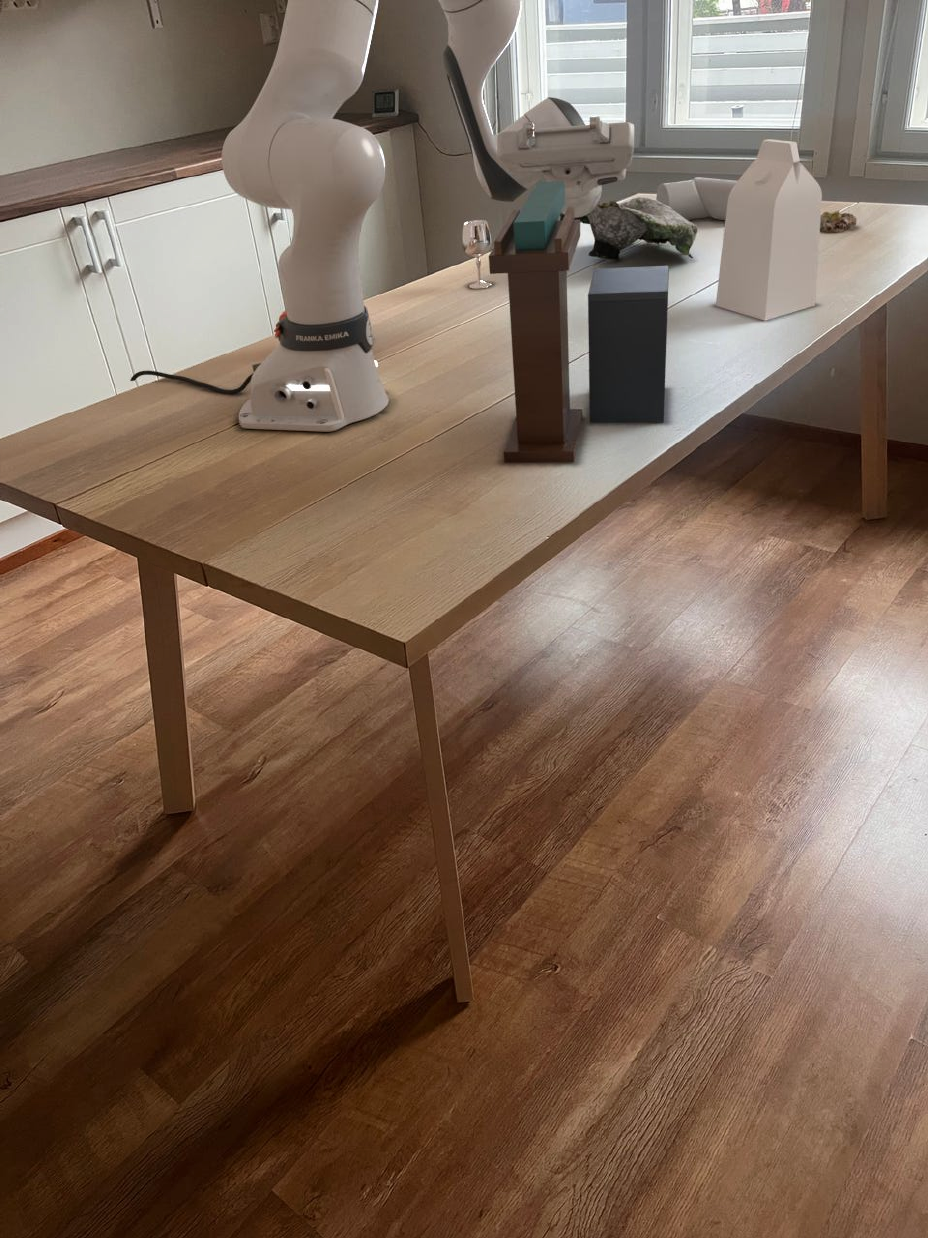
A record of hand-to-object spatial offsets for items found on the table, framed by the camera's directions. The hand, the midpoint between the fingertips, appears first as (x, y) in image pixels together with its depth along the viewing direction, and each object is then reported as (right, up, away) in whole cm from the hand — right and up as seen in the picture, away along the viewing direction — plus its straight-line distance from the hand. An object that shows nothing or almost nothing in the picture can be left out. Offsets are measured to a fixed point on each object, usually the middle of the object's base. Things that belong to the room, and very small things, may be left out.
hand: (561, 124), depth 134 cm
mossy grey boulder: (+21, +6, +66) cm, 69 cm away
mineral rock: (+66, +15, +72) cm, 98 cm away
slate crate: (+10, -40, 0) cm, 41 cm away
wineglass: (-10, -3, +58) cm, 59 cm away
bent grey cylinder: (+43, +23, +87) cm, 100 cm away
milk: (+39, -15, +32) cm, 53 cm away
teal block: (-4, -21, -17) cm, 27 cm away
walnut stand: (-3, -46, -7) cm, 46 cm away
